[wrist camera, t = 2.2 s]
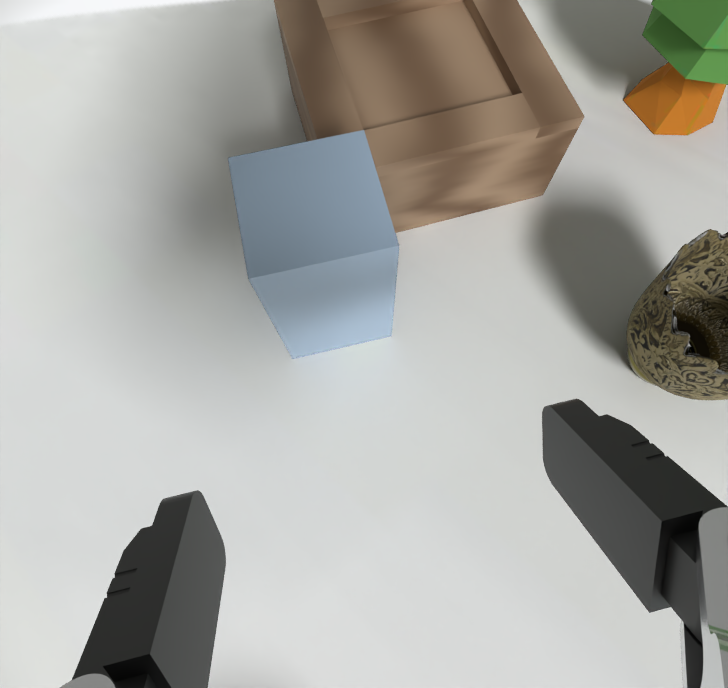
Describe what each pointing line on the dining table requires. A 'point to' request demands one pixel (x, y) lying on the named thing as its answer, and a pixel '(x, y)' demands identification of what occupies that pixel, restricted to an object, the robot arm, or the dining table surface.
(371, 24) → the square wooden tray
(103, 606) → the robot arm
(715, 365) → the cup
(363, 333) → the blue-grey square-topped block
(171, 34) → the dining table surface
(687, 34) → the decorative tree
